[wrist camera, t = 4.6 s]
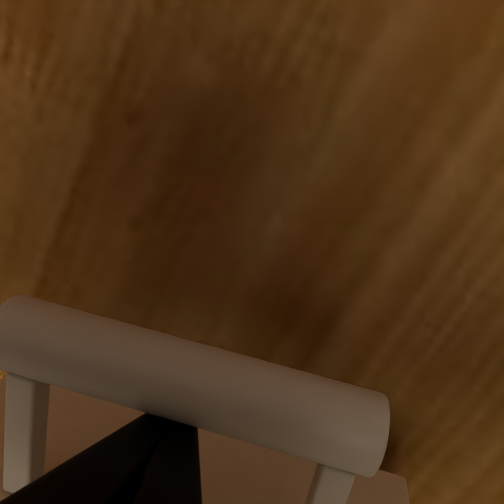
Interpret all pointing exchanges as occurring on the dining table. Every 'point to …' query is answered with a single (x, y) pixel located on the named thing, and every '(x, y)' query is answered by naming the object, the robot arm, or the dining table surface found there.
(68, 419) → the drawer
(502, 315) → the dining table surface
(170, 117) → the dining table surface
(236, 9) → the dining table surface
